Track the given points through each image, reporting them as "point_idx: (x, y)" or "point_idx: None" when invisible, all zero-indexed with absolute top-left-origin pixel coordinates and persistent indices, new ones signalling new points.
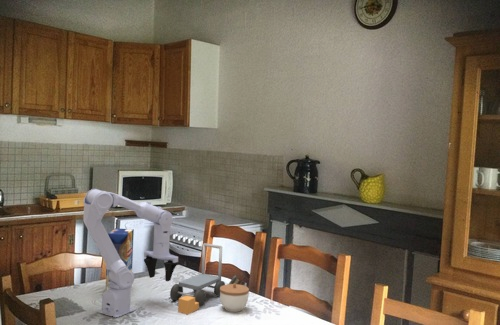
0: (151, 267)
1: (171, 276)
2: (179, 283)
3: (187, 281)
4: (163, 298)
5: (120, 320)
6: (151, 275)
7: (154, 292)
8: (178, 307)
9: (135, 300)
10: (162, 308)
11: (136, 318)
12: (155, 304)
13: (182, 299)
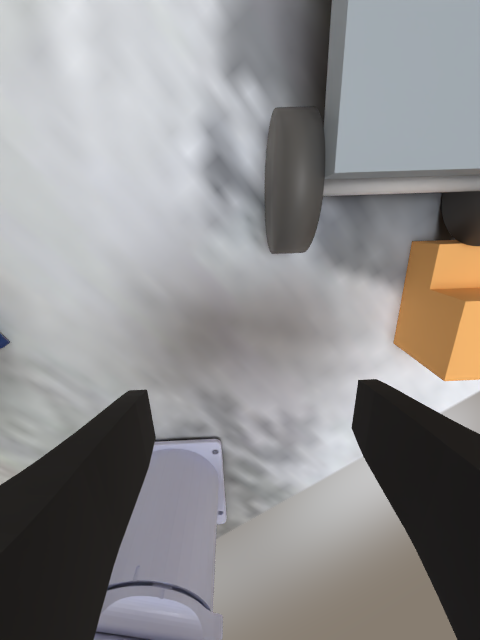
0: (99, 555)
1: (410, 400)
2: (341, 175)
3: (412, 67)
4: (193, 224)
5: (252, 518)
6: (147, 447)
7: (49, 159)
8: (409, 354)
9: (106, 350)
10: (299, 352)
11: (284, 482)
12: (231, 331)
13: (474, 379)
